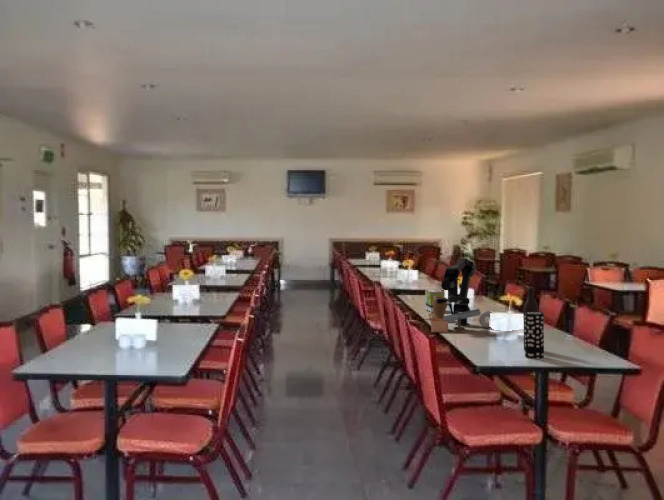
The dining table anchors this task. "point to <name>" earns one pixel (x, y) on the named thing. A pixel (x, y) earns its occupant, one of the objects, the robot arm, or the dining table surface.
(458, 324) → the lever stand
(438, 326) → the brown boxy piece
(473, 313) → the grey flat piece
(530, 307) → the wine bottle
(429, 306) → the tea box
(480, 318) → the donut
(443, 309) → the stone cup
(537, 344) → the white-spotted black cylinder
